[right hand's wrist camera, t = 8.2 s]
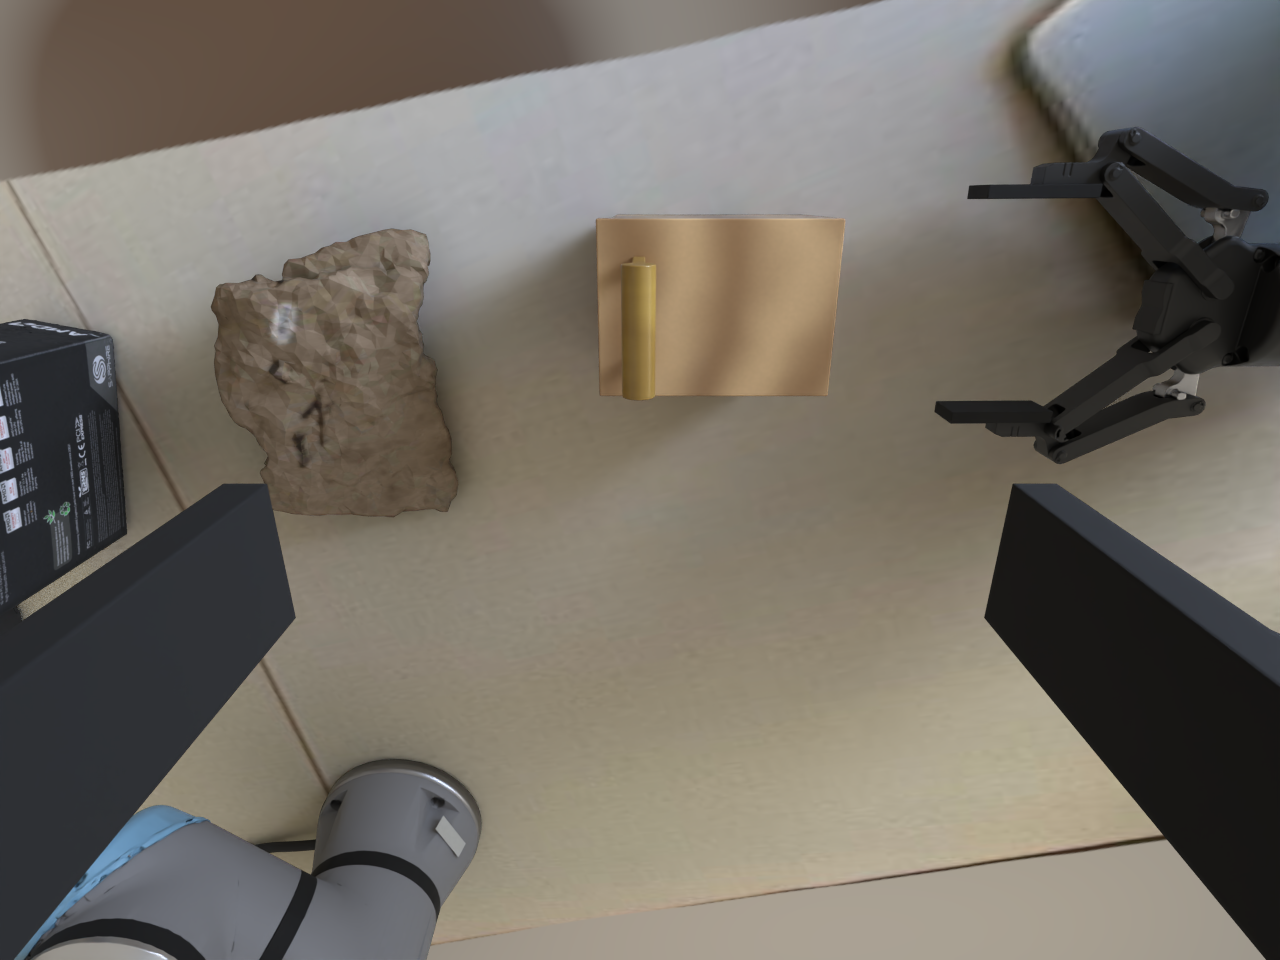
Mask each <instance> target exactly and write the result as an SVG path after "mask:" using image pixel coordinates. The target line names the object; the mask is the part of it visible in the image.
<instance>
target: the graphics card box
mask: <svg viewBox="0 0 1280 960" xmlns="http://www.w3.org/2000/svg"><path fill="white" fill-rule="evenodd" d="M113 349H114V346H113V340H112V338H111V336H110V335H108V334H105V333H100V332H96V331H88V330H83V329H78V328H72V327H66V326H60V325H58V324H51V323H45V322H40V321H36V320H27V319H23V320H17V321H12V322H6V323H2V324H0V616H1V615H3V614H4V613H6V612H8V611H9V610H11V609H12V608H14V607H15V606H17V605H18V604H20V603H21V602H23V601H24V600H26V599H27V598H29V597H31V596H32V595H34V594H35V593H37V592H39V591H40V590H41V589H43V588H44V587H46V586H47V585H49V584H51V583H52V582H54V581H55V580H57V579H58V578H60V577H62V576H63V575H65V574H66V573H68V572H69V571H71V570H72V569H74V568H75V567H77V566H78V565H80V564H81V563H83V562H84V561H86V560H87V559H89V558H91V557H92V556H94V555H95V554H97V553H98V552H99V551H101V550H103V549H104V548H106V547H108V546H109V545H110V544H112V543H114V542H115V541H117V540H118V539H120V538H121V537H123V536H124V535H126V534H127V525H126V513H125V497H124V488H123V487H124V484H123V474H122V473H123V470H122V459H121V443H120V429H119V418H118V404H117V390H116V374H115V360H114V351H113Z"/></svg>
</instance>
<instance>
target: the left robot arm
mask: <svg viewBox="0 0 1280 960" xmlns="http://www.w3.org/2000/svg"><path fill="white" fill-rule="evenodd" d="M1098 147H1099V149H1098V151H1097V153H1096V155H1095V156H1094V157H1093V158H1092V159H1091V160H1090V161H1089V162H1086V163H1047V164H1041V165H1039V166H1036V167H1034V168H1033V173H1032V178H1031V184H1027V185H974V186H969V191H968V198H967V199H1028V198H1096V199H1097V200H1098V201H1099V202H1100V203H1101V205H1102V206H1103V207H1104V208H1105V209H1106V210H1107V211H1108V212H1109V214H1110V215H1111V216H1112V217H1113V218H1114V219H1115V220H1116V221H1117V223H1118V224H1119V225H1120V226H1121V227H1122V228H1123V229H1124V230H1125V232H1126V233H1127V234H1128V235H1129V236H1130V237H1131V238H1132V239H1133V241H1134V242H1135V243H1136V244H1137V245H1138V246H1139V247H1140V248H1141V250H1142V252H1141V255H1142V256H1143V257H1144V258H1145V259H1146V261H1147V262H1148V263H1149V264H1150V265H1151V266H1152V267H1153V268H1154V270H1155V272H1154V273H1153V275H1152V276H1151V278H1150V279H1149V280H1145V281H1144V285H1143V289H1142V305H1141V307H1140V309H1139V311H1138V313H1137V315H1136V317H1135V321H1134V325H1133V329H1135V330H1137V336H1136V337H1135V338H1133V339H1132V340H1131V341H1129V342H1128V343H1126V344H1125V345H1123V346H1122V347H1121V348H1119V349H1118V350H1117V355H1116V356H1115V357H1113V358H1112V359H1110V360H1109V361H1108V362H1106V363H1105V364H1103V365H1102V366H1100V367H1099V368H1098V369H1096V370H1095V371H1093V372H1092V373H1091V374H1089V375H1088V376H1086V377H1085V378H1083V379H1082V380H1081V381H1079V382H1078V383H1076V384H1075V385H1073V386H1072V387H1071V388H1069V389H1068V390H1066V391H1065V392H1063V393H1062V394H1061V395H1059V396H1058V397H1056V398H1055V399H1054V400H1052V401H1051V402H1049V403H1048V404H1046V405H1045V406H1044V407H1043V406H1041V405H1039V404H1037V403H1035V402H1033V401H936V406H935V413H937V414H938V415H940V416H941V417H942V418H944V419H945V420H947V421H948V422H949V423H986V427H985V428H987V429H988V430H990V431H991V432H993V433H994V434H996V435H999V436H1001V437H1010V436H1011V437H1016V436H1017V437H1031V436H1035V437H1036V441H1035V442H1034V449H1035V450H1036V451H1038V452H1039V453H1041V454H1042V455H1044V456H1045V457H1047V458H1049V459H1050V460H1052V461H1053V462H1055V463H1057V464H1062V463H1065V462H1068V461H1070V460H1072V459H1075V458H1077V457H1079V456H1082V455H1084V454H1086V453H1089V452H1091V451H1093V450H1096V449H1098V448H1100V447H1103V446H1105V445H1107V444H1110V443H1112V442H1114V441H1117V440H1119V439H1122V438H1124V437H1126V436H1129V435H1131V434H1133V433H1136V432H1138V431H1140V430H1143V429H1145V428H1147V427H1150V426H1152V425H1154V424H1157V423H1159V422H1161V421H1164V420H1166V419H1169V418H1177V417H1186V416H1195V415H1198V414H1200V413H1201V412H1202V411H1203V410H1204V408H1205V406H1206V405H1205V401H1204V399H1202V398H1199V397H1197V396H1196V392H1197V387H1198V381H1199V375H1200V373H1203V372H1205V371H1207V370H1209V369H1211V368H1214V367H1220V366H1280V243H1266V244H1249V243H1247V242H1245V241H1244V240H1242V239H1241V238H1240V237H1241V234H1242V232H1243V229H1244V227H1245V224H1246V222H1247V219H1248V217H1249V214H1250V212H1251V211H1259V210H1261V209H1262V208H1263V207H1264V206H1265V205H1266V204H1267V202H1268V198H1269V197H1268V193H1267V192H1266V191H1265V190H1262V189H1254V188H1246V187H1238V186H1234V185H1232V184H1230V183H1229V182H1227V181H1226V180H1224V179H1222V178H1221V177H1219V176H1218V175H1216V174H1214V173H1213V172H1211V171H1210V170H1208V169H1206V168H1205V167H1203V166H1202V165H1200V164H1199V163H1197V162H1195V161H1194V160H1192V159H1191V158H1189V157H1187V156H1186V155H1184V154H1183V153H1181V152H1179V151H1178V150H1176V149H1175V148H1173V147H1171V146H1170V145H1168V144H1167V143H1165V142H1163V141H1162V140H1160V139H1159V138H1157V137H1155V136H1154V135H1152V134H1151V133H1149V132H1148V131H1146V130H1144V129H1143V128H1140V127H1134V128H1125V129H1119V130H1113V131H1107V132H1105V133H1104V134H1103V135H1102V136H1101V137H1100V139H1099V142H1098ZM1127 168H1129V169H1131V170H1132V171H1134V172H1135V173H1137V174H1139V175H1140V176H1142V177H1144V178H1145V179H1147V180H1149V181H1150V182H1152V183H1153V184H1155V185H1157V186H1158V187H1160V188H1162V189H1163V190H1165V191H1166V192H1168V193H1170V194H1171V195H1173V196H1175V197H1176V198H1178V199H1179V200H1181V201H1183V202H1185V203H1186V204H1188V205H1191V206H1194V207H1197V208H1202V211H1201V217H1203V218H1204V219H1205V221H1206V222H1208V223H1210V224H1212V225H1213V227H1214V234H1213V236H1210V237H1207V238H1205V239H1204V240H1202V241H1201V242H1199V243H1197V242H1195V241H1194V240H1192V239H1189V238H1188V237H1186V236H1185V235H1184V234H1183V232H1182V231H1181V230H1180V229H1179V228H1178V227H1177V226H1176V224H1175V223H1174V222H1173V221H1172V220H1171V219H1170V217H1169V216H1168V215H1167V214H1166V213H1165V212H1164V210H1163V209H1162V208H1161V207H1160V206H1159V205H1158V203H1157V202H1156V201H1155V200H1154V199H1153V198H1152V196H1151V195H1150V194H1149V193H1148V192H1147V191H1146V189H1145V188H1144V187H1143V186H1142V185H1141V184H1140V182H1139V181H1138V180H1137V179H1136V178H1135V177H1134V176H1133V174H1132V173H1131V172H1130V171H1129V170H1128V169H1127ZM1149 351H1152V352H1153V353H1148V352H1149ZM1170 368H1171V369H1173V370H1175V372H1174V375H1173V376H1172V377H1171V378H1170V379H1169V380H1168V381H1165V382H1162V383H1161V384H1160V383H1157V384H1155V385H1154V386H1153V391H1148V392H1144V393H1140V394H1137V395H1135V396H1132V397H1130V398H1128V399H1125V400H1123V401H1121V402H1118V403H1116V404H1114V405H1112V406H1109V407H1107V408H1105V407H1106V406H1108V405H1109V404H1110V403H1112V402H1113V401H1115V400H1116V399H1118V398H1119V397H1121V396H1122V395H1124V394H1125V393H1127V392H1128V391H1129V390H1131V389H1132V388H1134V387H1135V386H1137V385H1138V384H1140V383H1141V382H1143V381H1144V380H1145V379H1147V378H1149V377H1152V376H1158V375H1160V374H1162V373H1164V372H1165V371H1167V370H1168V369H1170ZM1103 408H1105V409H1103Z"/></svg>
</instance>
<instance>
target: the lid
mask: <svg viewBox="0 0 1280 960" xmlns="http://www.w3.org/2000/svg"><path fill="white" fill-rule="evenodd" d="M844 230H845V219H843V218H598V219H596V252H597V297H598V343H599V388H600V396H622V397H623V398H625V399H629V400H648V399H652V398H654V397H655V396H827V395H828V387H829V377H830V367H831V358H832V348H833V338H834V328H835V318H836V309H837V299H838V289H839V279H840V269H841V260H842V250H843V240H844Z"/></svg>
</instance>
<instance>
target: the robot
mask: <svg viewBox="0 0 1280 960" xmlns="http://www.w3.org/2000/svg"><path fill="white" fill-rule="evenodd" d="M20 622H21V616H20V612H19V610H18V609H17V607H16V606H15V607H14V608H12V609H11V610H9V611H8V612H6V613H4V614H3V615H1V616H0V636H1V635H2V634H4V633H5V632H7V631H8V630H10V629H11V628H13V627H14V626H16V625H17V624H19V623H20Z"/></svg>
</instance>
